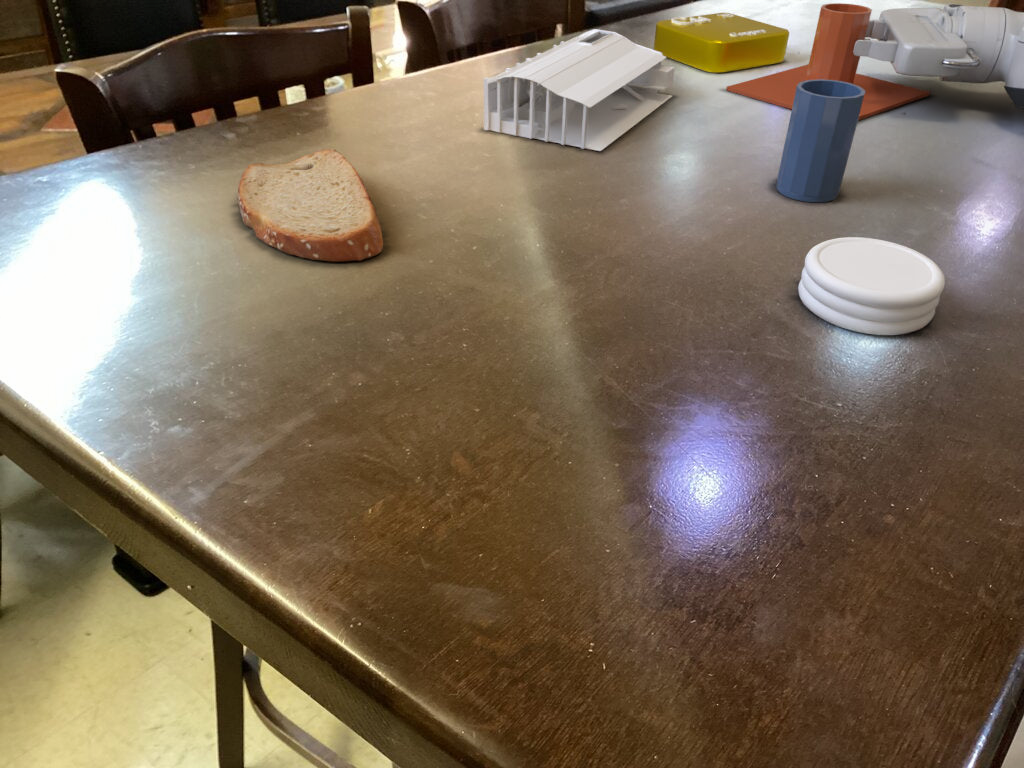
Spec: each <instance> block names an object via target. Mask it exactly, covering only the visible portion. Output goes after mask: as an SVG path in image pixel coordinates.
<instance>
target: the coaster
mask: <svg viewBox="0 0 1024 768" xmlns="http://www.w3.org/2000/svg"><path fill="white" fill-rule="evenodd" d="M800 276H801V277H800V278H801V279H800V280H799V283H798V286H797V289H798V290H797V291H798V296H799V298H800V300H801V302H802V304H803V305H804V306H805V307H806V308H807V309H808V310H809V311H810V312H811V313H813V314H814V315H815V316H817V317H819V318H820V319H822V320H824V321H825V322H827V323H829V324H832V325H834V326H837V327H839V328H842V329H845V330H848V331H852V332H857V333H862V334H867V335H874V336H897V335H905V334H909V333H912V332H916V331H919V330H921V329H923V328H924V327H926V326H927V325H928V324H929V323H930V322H931V321H932V320H933V318H934V316H935V314H936V308H937V306H938V305H939V303H940V299H941V294H942V293H943V291H944V289H945V286H946V285H945V284H946V278H945V275H944V273H943V271H942V270H941V268H940V267H939V266H938V264H937V263H936V262H934V261H933V260H932V259H931V258H929V257H928V256H926V255H925V254H923V253H921V252H919V251H917V250H915V249H913V248H911V247H908V246H905V245H902V244H899V243H895V242H891V241H888V240H883V239H877V238H871V237H862V236H861V237H858V236H847V237H837V238H836V237H835V238H832V239H828V240H825V241H822V242H820V243H818V244H816V245H814V246H813V247H812V248H810V250H809V251H808V252H807V254H806V256H805V258H804V266H803V268H802V270H801V275H800Z"/></svg>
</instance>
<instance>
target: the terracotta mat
mask: <svg viewBox="0 0 1024 768" xmlns="http://www.w3.org/2000/svg"><path fill="white" fill-rule="evenodd" d="M808 66H809V63H808V64H805V65H801V66H797V67H793V68H790V69H786V70H782V71H779V72H776V73H772V74H767V75H764V76H760V77H756V78H754V79H749V80H746V81H742V82H738V83H734V84H731V85H727V86H726V90H725V91H728V92H730V93H735V94H738V95H742V96H743V97H747V98H752V99H755V100H758V101H761V102H764V103H768V104H771V105H774V106H778V107H781V108H785V109H789V110H792V107H793V102H794V97H795V93H796V88H797V85H798V84H799V83H800V82H803V81H805V79H806V75H807V70H808ZM854 85H857V86H860V87H861V88H862V89H864V90H865V91H866V92H865V96H864V100H863V103H862V107H861V111H860V115H859V119H858V121H861V120H863V119H866V118H869V117H872V116H875V115H878V114H880V113H883V112H886V111H889V110H892V109H895V108H897V107H900V106H903V105H906V104H909V103H912V102H914V101H917V100H920V99H923V98H925V97H929V96H930V94H931V91H929V90H926V89H925V90H924V89H920V88H917V87H913V86H908V85H905V84H900V83H896V82H892V81H888V80H884V79H881V78H876V77H872V76H868V75H864V74H860V73H856V76H855V80H854Z"/></svg>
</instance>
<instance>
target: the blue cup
mask: <svg viewBox="0 0 1024 768" xmlns="http://www.w3.org/2000/svg"><path fill="white" fill-rule="evenodd" d="M865 92H866V91H865V90H864V89H862V88H861V87H860V86H857V85H854V84H851V83H847V82H842V81H837V80H824V79H817V80H806V81H803V82H800V83H799V84H798V85H797V88H796V93H795V97H794V102H793V107H792V109H791V112H790V116H789V122H788V126H787V131H786V136H785V140H784V146H783V149H782V153H781V160H780V164H779V168H778V173H777V177H776V185H775V186H776V187H775V188H776V190H777V191H778V193H779V194H781V195H782V196H785V197H786V198H789V199H792V200H795V201H799V202H805V203H828V202H832V201H834V200H835V199H837V198H838V197H839V194H840V190H841V188H842V184H843V181H844V180H843V179H844V175H845V173H846V172H845V171H846V168H847V164H848V161H849V156H850V153H851V149H852V146H853V141H854V137H855V134H856V130H857V127H858V122H859V120H858V119H859V115H860V111H861V107H862V103H863V100H864V96H865Z"/></svg>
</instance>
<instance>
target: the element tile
mask: <svg viewBox="0 0 1024 768" xmlns="http://www.w3.org/2000/svg"><path fill="white" fill-rule="evenodd" d="M789 37H790V31H789V30H788V29H787V28H783V27H780V26H776V25H773V24H770V23H766V22H762V21H759V20H755V19H751V18H749V17H748V18H747V17H745V16H740V15H737V14H733V13H730V12H717V13H710V14H700V15H695V16H694V15H693V16H686V17H684V16H683V17H682V16H676V17H672V18H669V19H663V20H658V22H656V24H655V33H654V41H653V43H654V44H653V50H656V51H659V52H662V55H663V56H665V57H667V58H666V59H670V60H673V61H676V62H679V63H681V64H684V65H686V66H689V67H693V68H695V69H697V70H701V71H704V72H707V73H713V74H721V73H729V72H736V71H741V70H746V69H753V68H759V67H764V66H770V65H775V64H780V63H783V62H784V60H785V58H786V54H787V53H786V51H787V47H788V43H789Z"/></svg>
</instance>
